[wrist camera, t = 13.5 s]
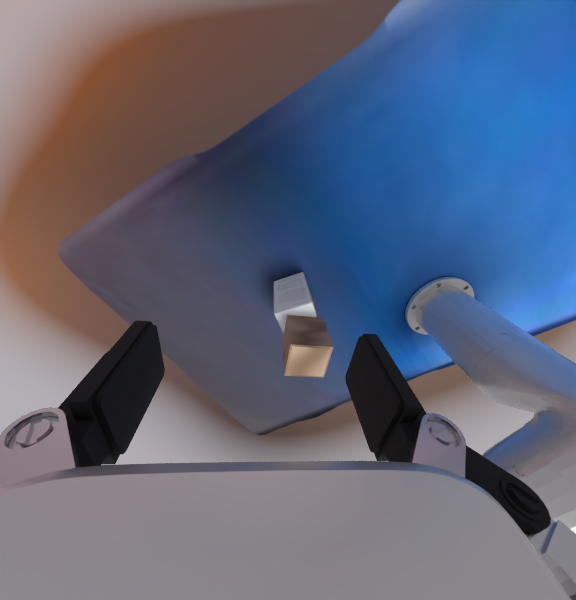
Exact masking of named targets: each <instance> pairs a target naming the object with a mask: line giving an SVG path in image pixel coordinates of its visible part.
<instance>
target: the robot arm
mask: <svg viewBox="0 0 576 600" xmlns="http://www.w3.org/2000/svg"><path fill="white" fill-rule="evenodd" d="M405 317H406V321H407V323H408V325H409V326H410V327H411V328H412V329H413V330H414V331H415V332H417V333H420V334H424V335H429V336H430V337H431V338H432V339H433V340H434V341H435V342H436V343H437V344H438V345H439V346H440V347H441V348H442V349H443V350H444V352H445V353H446V354H447V355H448V356H449V357H450V358H451V359H452V360H453V361H454V362H455V363H456V364H457V365H458V366H459V368H460V369H461V370H462V371H463V372H464V373H465V374H466V375H467V376H468V377H469V378H470V379H471V380H472V381H473V382H474V383H475V385H477V387H478V388H479V389H480V390H481V391H482V392H483V393H485V394H486V395H487V396H488V397H490V398H491V399H493V400H495V401H496V402H499V403H501V404H504V405H507V406H510V407H514V408H518V409H522V410H526V411H531V412H534V417H533V418H532V419H531V420H530V421H529V422H528V423H526V424H525V425H524V426H523V427H522V428H520V429H518V430H517V431H515V432H514V433H512V434H510V435H509V436H507V437H506V438H504V439H503V440H501V441H500V442H498V443H497V444H495V445H494V446H492V447H491V448H490V449H488V450H487V451H485V452H484V453H483V455H480V454H479V453H477V452H475V451H474V450H472V449H471V448H469V447H467V446H466V442H465V438H464V436H463V434H462V432H461V431H460V430H459V428H458V427H457V426H456V425H455V424H453V423H452V422H451V421H450V420H448V419H447V418H445V417H443V416H441V415H438V414H435V413H428V414H426V412H425V411H424V409H423V407H422V405H421V404H420V402H419V401H418V399H417V397H416V396H415V394H414V393H413V391H412V390H411V388H410V387H409V385H408V383H407V382H406V380H405V379H404V377H403V375H402V374H401V372H400V371H399V369H398V367H397V366H396V364H395V363H394V361H393V360H392V358H391V356H390V355H389V353H388V352H387V350H386V348H385V347H384V345H383V344H382V342H381V341H380V339H379V337H378V336H377V335H376V334H363V335H362V336H361V337H359V339H358V341H357V344H356V347H355V350H354V353H353V356H352V359H351V362H350V365H349V367H348V370H347V373H346V384H347V386H348V389H349V392H350V395H351V398H352V401H353V403H354V406H355V409H356V412H357V415H358V418H359V420H360V423H361V426H362V429H363V432H364V435H365V438H366V440H367V443H368V446H369V449H370V451H371V452H374V453H375V456H376V459H377V461H325V462H324V461H319V462H318V461H317V462H315V461H314V462H313V461H312V462H311V461H309V462H225V463H223V462H222V463H165V464H129V465H102V466H101V464H115V463H116V461H117V459H118V457H119V455H120V454H124V453H125V452H126V450H127V448H128V446H129V444H130V442H131V440H132V438H133V436H134V434H135V432H136V430H137V428H138V426H139V424H140V422H141V420H142V418H143V416H144V414H145V412H146V410H147V408H148V406H149V404H150V402H151V400H152V398H153V396H154V394H155V392H156V390H157V388H158V386H159V384H160V382H161V380H162V378H163V376H164V370H165V369H164V364H163V358H162V353H161V347H160V342H159V337H158V331H157V327H156V325H153V324H152V322H150V321H135V322H134V323H133V324H132V325H131V326H130V327H129V329H128V330H127V331H126V332H125V333H124V334H123V336H122V337H121V338H120V339H119V340H118V341H117V343H116V344H115V345H114V346H113V347H112V348H111V349H110V351H108V352H107V353H106V354H104V356H103V357H102V358H101V359H100V360H99V361H98V363H97V364H96V365H95V366H94V367H93V368H92V369H91V371H90V372H89V373H88V374H87V375H86V376H85V378H84V379H83V380H82V381H81V382H80V383H79V384H78V386H77V387H76V388H75V389H74V390H73V391H72V393H71V394H70V395H69V396H68V397H67V398H66V399H65V401H64V402H63V403H62V404H61V405H60V406H59V408H44V409H39V410H36V411H34V412H31V413H29V414H27V415H24V416H22V417H21V418H19V419H18V420H16V421H15V422H13V423H12V424H10V425H9V426H8V427H7V428H6V429H5V430H4V431H3V432H2V434H1V435H0V600H576V363H574V362H572V361H571V360H569V359H567V358H566V357H564V356H562V355H561V354H559V353H558V352H556V351H554V350H553V349H551V348H550V347H548V346H547V345H545V344H544V343H542V342H541V341H539V340H537V339H536V338H534V337H533V336H531V335H530V334H528V333H527V332H525V331H524V330H522V329H521V328H519V327H518V326H516V325H514V324H513V323H511V322H510V321H508V320H507V319H505V318H504V317H502V316H501V315H499V314H498V313H496V312H495V311H493V310H492V309H491V308H489V307H487V306H485V305H484V304H482V303H481V302H479V301H478V300H476V299H475V298H474V291H473V288H472V287H471V285H470V284H468V283H467V282H466V281H464V280H462V279H460V278H457V277H443V278H439V279H436V280H433V281H431V282H429V283H427V284H426V285H424V286H423V287H421V288H420V289H419V290H418V291H417V292H416V293H415V294H414V295H413V296H412V298H411V299H410V300H409V303H408V305H407V307H406V312H405ZM382 461H389V462H382Z"/></svg>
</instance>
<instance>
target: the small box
mask: <svg viewBox="0 0 576 600" xmlns="http://www.w3.org/2000/svg"><path fill="white" fill-rule="evenodd" d="M274 315H275V317H276V319H277V321H278V323H279V325H280V327H281V330H282V332H283V334H284V330H285V324H286V318H287V315H295V316H308V317H318V314H317V311H316V308H315V305H314V302H313V299H312V296H311V293H310V290H309V288H308V285H307V282H306V279H305V275H304V273H303V272H301V273H298V274H295V275H292V276H289V277H286V278H283V279H280V280H277V281H274Z"/></svg>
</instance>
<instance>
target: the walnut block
mask: <svg viewBox="0 0 576 600" xmlns="http://www.w3.org/2000/svg"><path fill="white" fill-rule="evenodd" d="M282 346H283V360H284V374H285V376H305V377H324V375H325V372H326V369H327V366H328V362H329V359H330V356H331V353H332V349H333V345H332V342H331V339H330V336H329V334H328V331H327V328H326V325H325V322H324V319H323V318H320V317H308V316H295V315H287V318H286V324H285V330H284V336H283V342H282Z"/></svg>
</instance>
